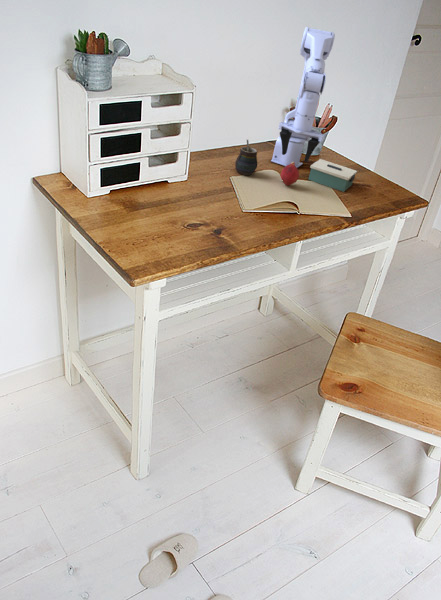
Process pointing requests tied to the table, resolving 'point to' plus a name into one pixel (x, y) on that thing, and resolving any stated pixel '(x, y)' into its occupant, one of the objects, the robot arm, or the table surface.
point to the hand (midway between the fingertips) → (295, 157)
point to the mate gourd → (246, 160)
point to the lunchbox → (332, 175)
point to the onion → (289, 174)
